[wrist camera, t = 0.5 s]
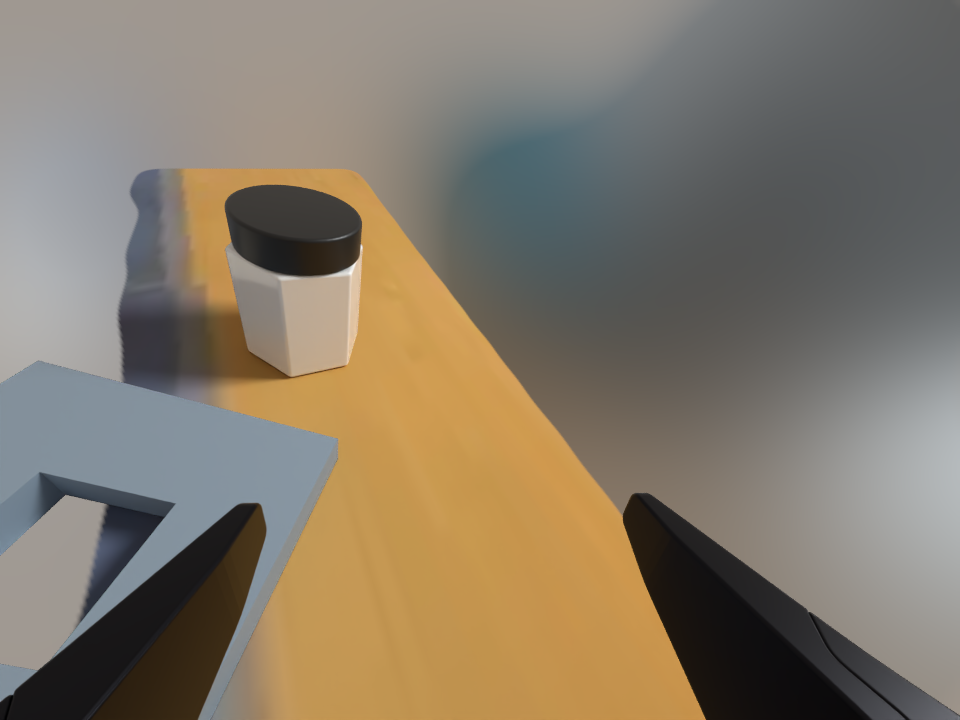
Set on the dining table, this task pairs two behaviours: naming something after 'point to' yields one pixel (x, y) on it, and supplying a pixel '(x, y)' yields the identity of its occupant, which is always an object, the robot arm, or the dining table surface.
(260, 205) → the jar
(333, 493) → the dining table surface
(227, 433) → the mount block
